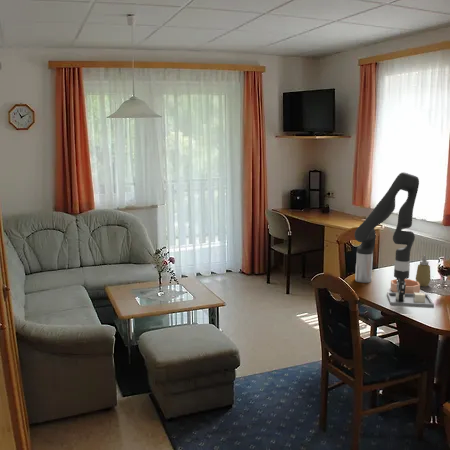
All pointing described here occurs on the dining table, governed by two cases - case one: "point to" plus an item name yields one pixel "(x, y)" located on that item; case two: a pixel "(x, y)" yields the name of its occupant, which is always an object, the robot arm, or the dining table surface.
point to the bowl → (407, 286)
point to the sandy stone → (419, 297)
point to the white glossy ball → (398, 296)
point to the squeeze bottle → (423, 272)
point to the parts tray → (409, 300)
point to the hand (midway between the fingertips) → (400, 299)
